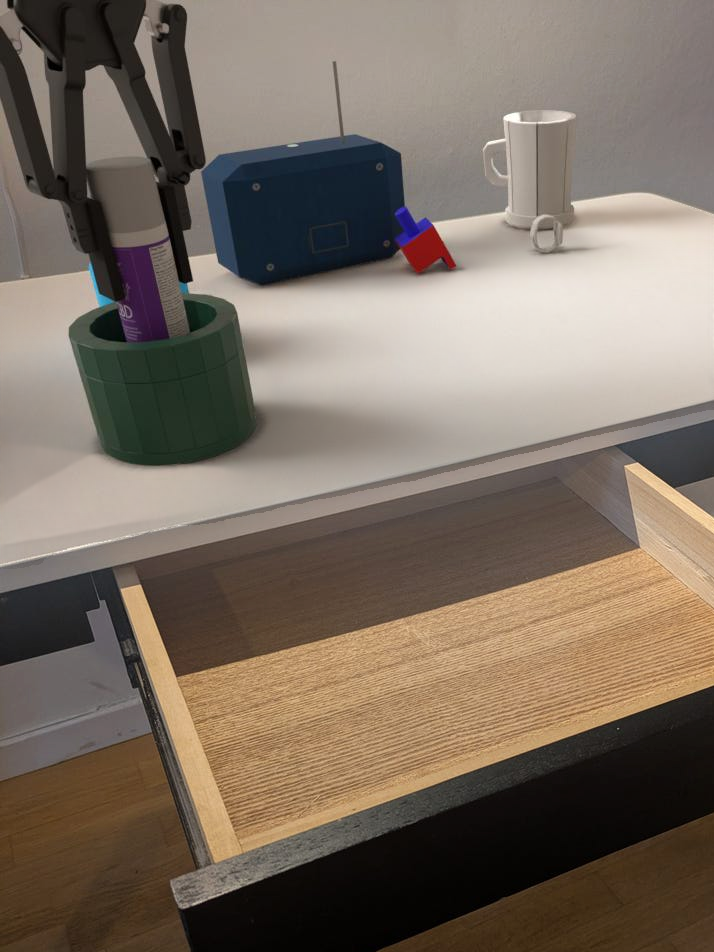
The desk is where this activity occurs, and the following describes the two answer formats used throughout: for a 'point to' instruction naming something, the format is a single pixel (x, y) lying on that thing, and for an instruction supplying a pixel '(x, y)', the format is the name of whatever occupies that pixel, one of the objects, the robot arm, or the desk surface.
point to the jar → (166, 385)
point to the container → (139, 248)
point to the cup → (535, 166)
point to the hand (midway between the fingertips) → (146, 286)
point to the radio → (305, 206)
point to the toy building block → (421, 242)
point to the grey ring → (557, 233)
